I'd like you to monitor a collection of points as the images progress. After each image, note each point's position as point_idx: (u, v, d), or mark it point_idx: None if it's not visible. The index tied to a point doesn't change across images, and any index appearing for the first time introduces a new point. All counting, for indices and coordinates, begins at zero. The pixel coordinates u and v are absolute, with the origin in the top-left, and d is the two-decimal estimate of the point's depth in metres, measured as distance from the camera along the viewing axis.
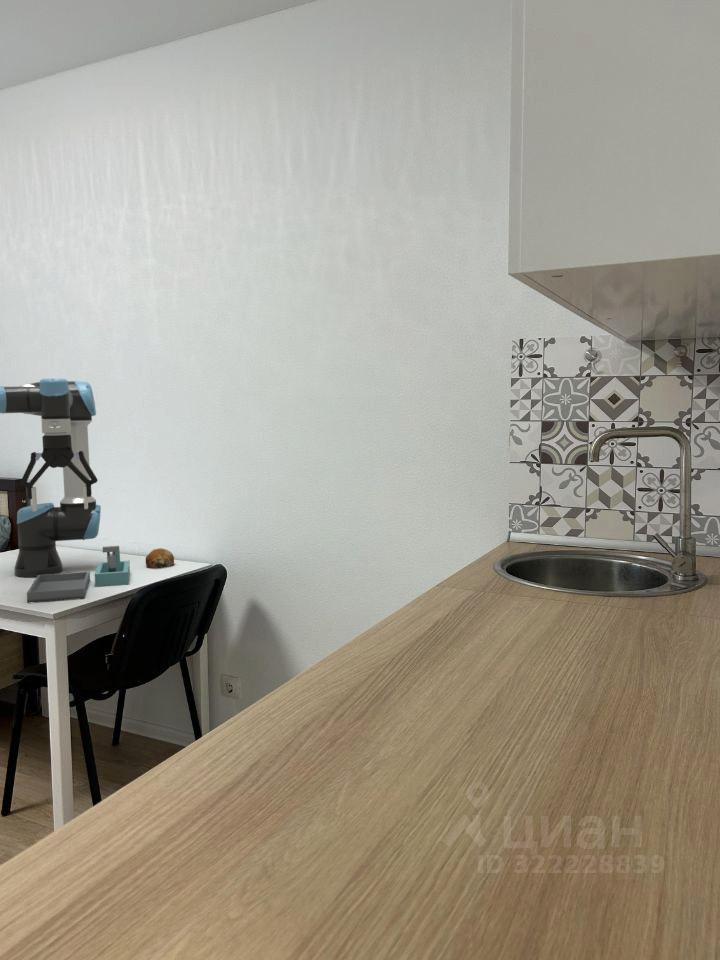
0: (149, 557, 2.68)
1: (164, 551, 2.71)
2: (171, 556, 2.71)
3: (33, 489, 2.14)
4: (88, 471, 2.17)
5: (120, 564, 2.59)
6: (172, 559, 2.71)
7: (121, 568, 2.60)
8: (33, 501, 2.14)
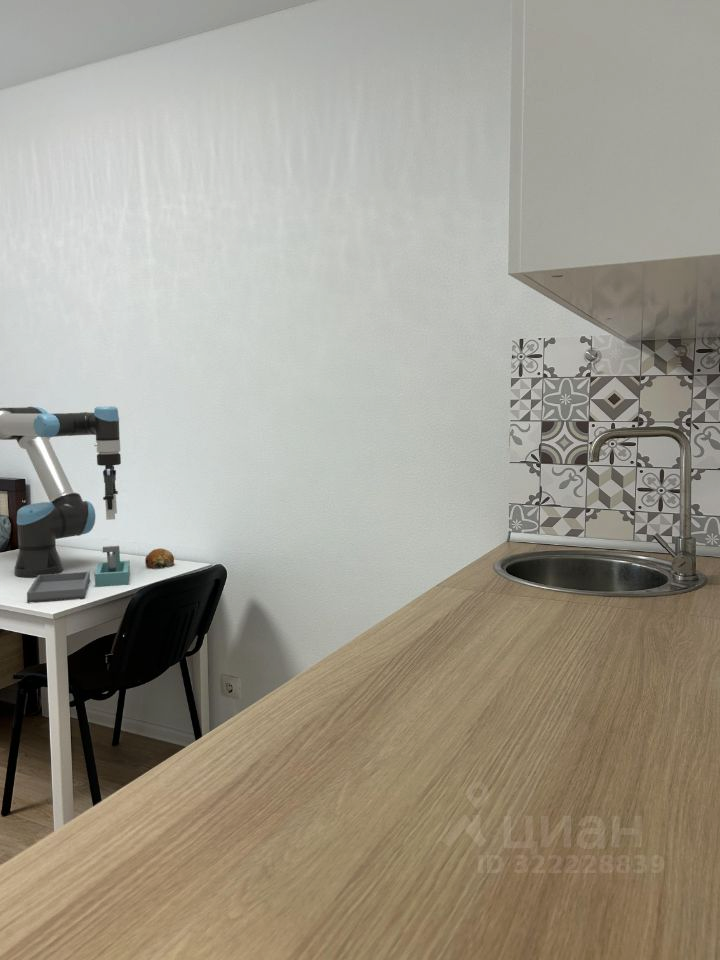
0: (149, 557, 2.68)
1: (164, 551, 2.71)
2: (171, 556, 2.71)
3: None
4: (105, 487, 2.49)
5: (120, 564, 2.59)
6: (172, 559, 2.71)
7: (121, 568, 2.60)
8: None
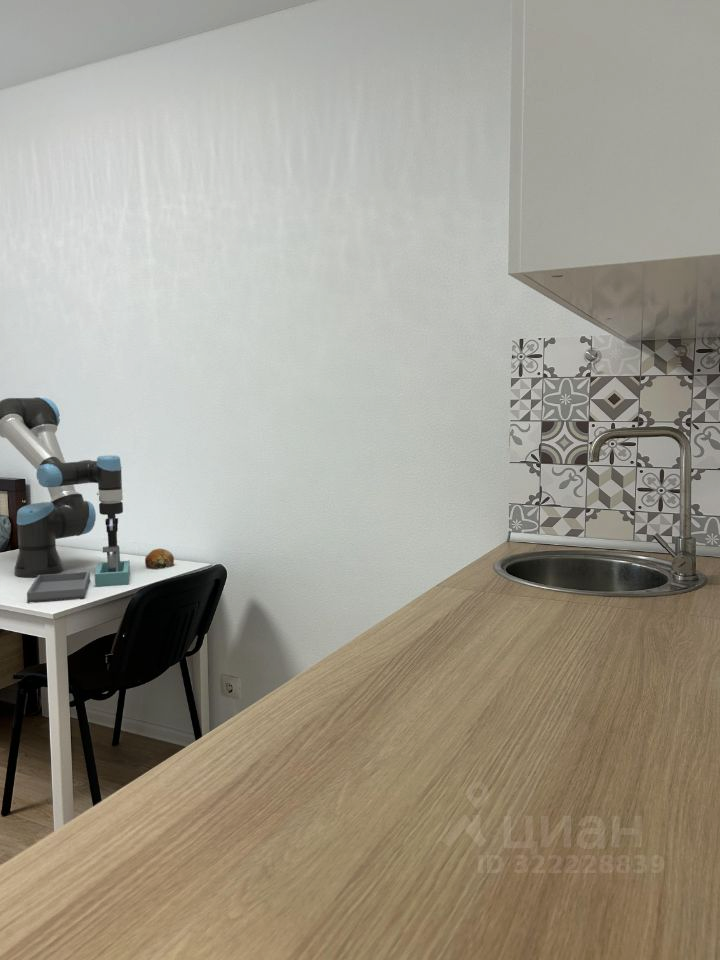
0: (149, 557, 2.68)
1: (164, 551, 2.71)
2: (171, 556, 2.70)
3: None
4: (108, 541, 2.54)
5: (120, 564, 2.59)
6: (172, 559, 2.70)
7: (121, 568, 2.60)
8: None
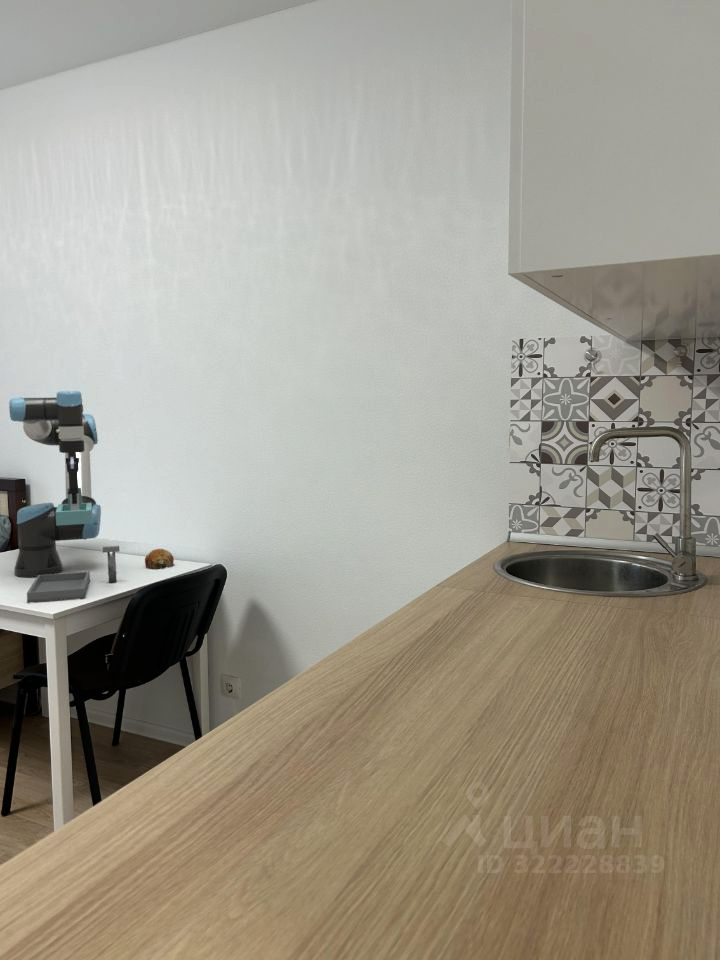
0: (148, 557, 2.67)
1: (163, 551, 2.70)
2: (170, 556, 2.70)
3: None
4: (69, 480, 2.41)
5: (82, 506, 2.47)
6: (171, 559, 2.70)
7: (83, 510, 2.47)
8: None
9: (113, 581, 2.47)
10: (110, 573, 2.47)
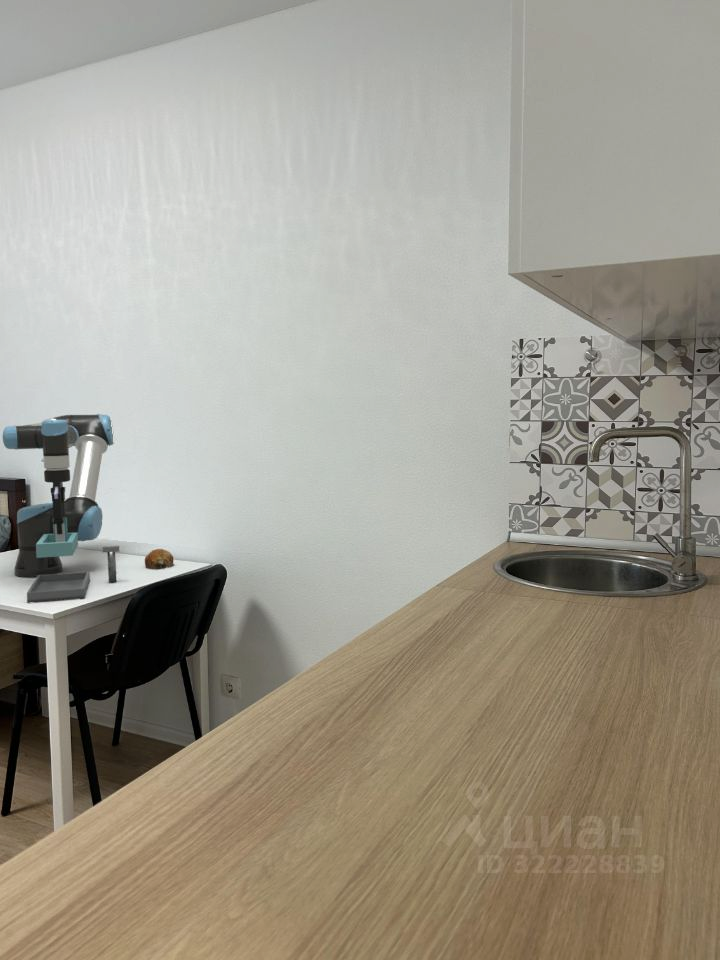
0: (148, 558, 2.67)
1: (163, 551, 2.70)
2: (170, 556, 2.70)
3: None
4: None
5: (67, 536, 2.43)
6: (171, 559, 2.70)
7: (68, 540, 2.43)
8: None
9: (113, 581, 2.47)
10: (110, 573, 2.47)
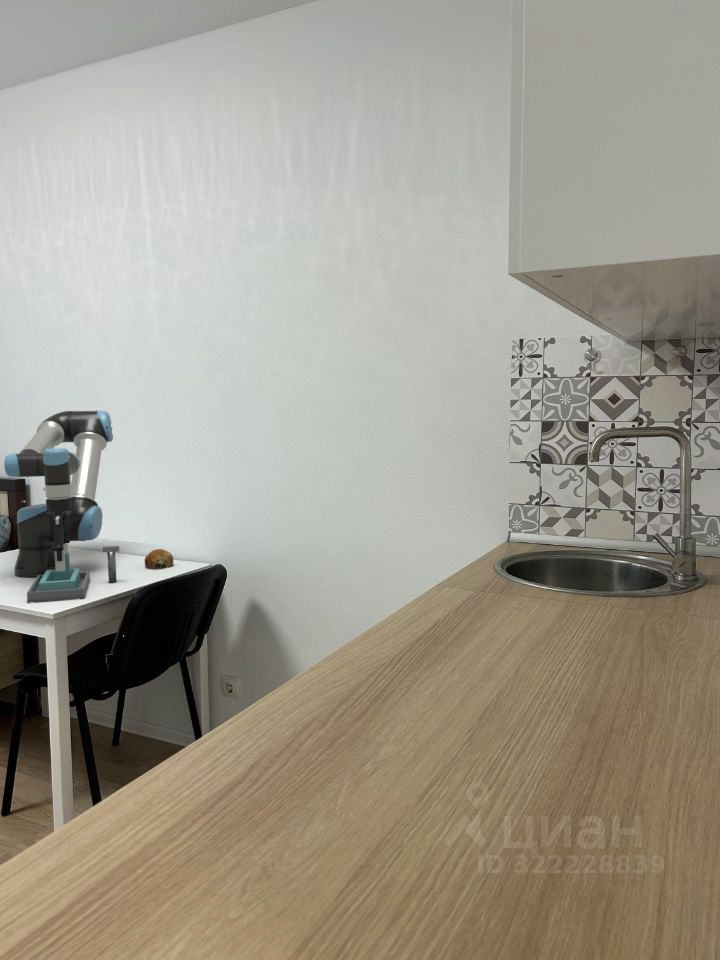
0: (148, 558, 2.67)
1: (163, 552, 2.70)
2: (170, 557, 2.70)
3: (58, 545, 2.48)
4: (53, 537, 2.36)
5: (70, 572, 2.45)
6: (171, 560, 2.70)
7: (71, 576, 2.45)
8: None
9: (113, 581, 2.47)
10: (110, 573, 2.47)
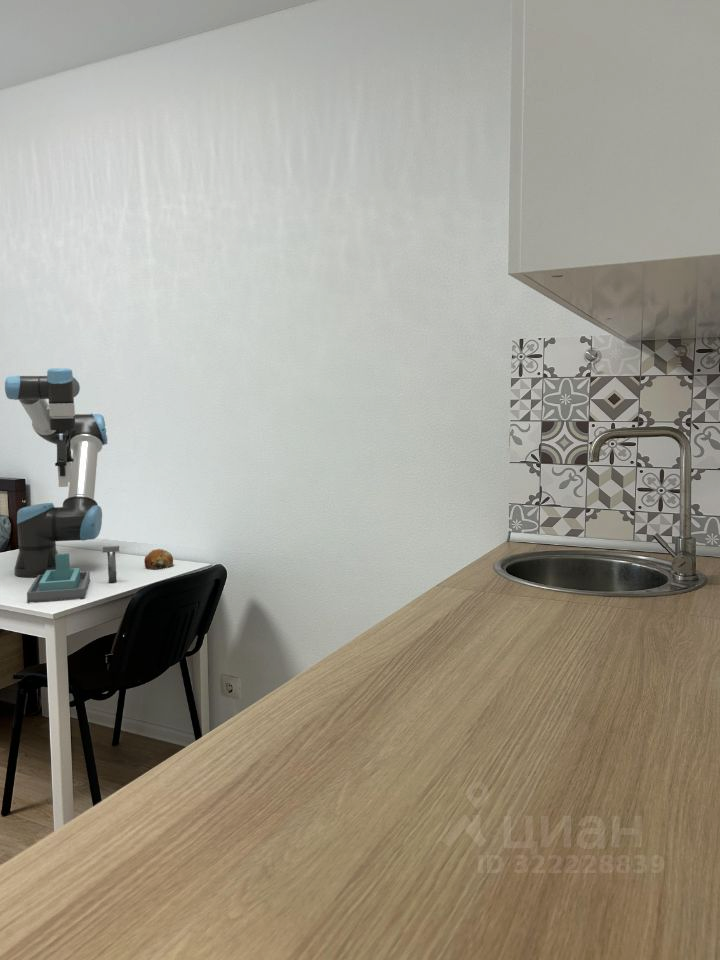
0: (148, 558, 2.67)
1: (163, 552, 2.70)
2: (170, 557, 2.69)
3: None
4: (57, 452, 2.37)
5: (70, 572, 2.45)
6: (171, 560, 2.69)
7: (71, 576, 2.45)
8: None
9: (113, 581, 2.47)
10: (110, 573, 2.47)
